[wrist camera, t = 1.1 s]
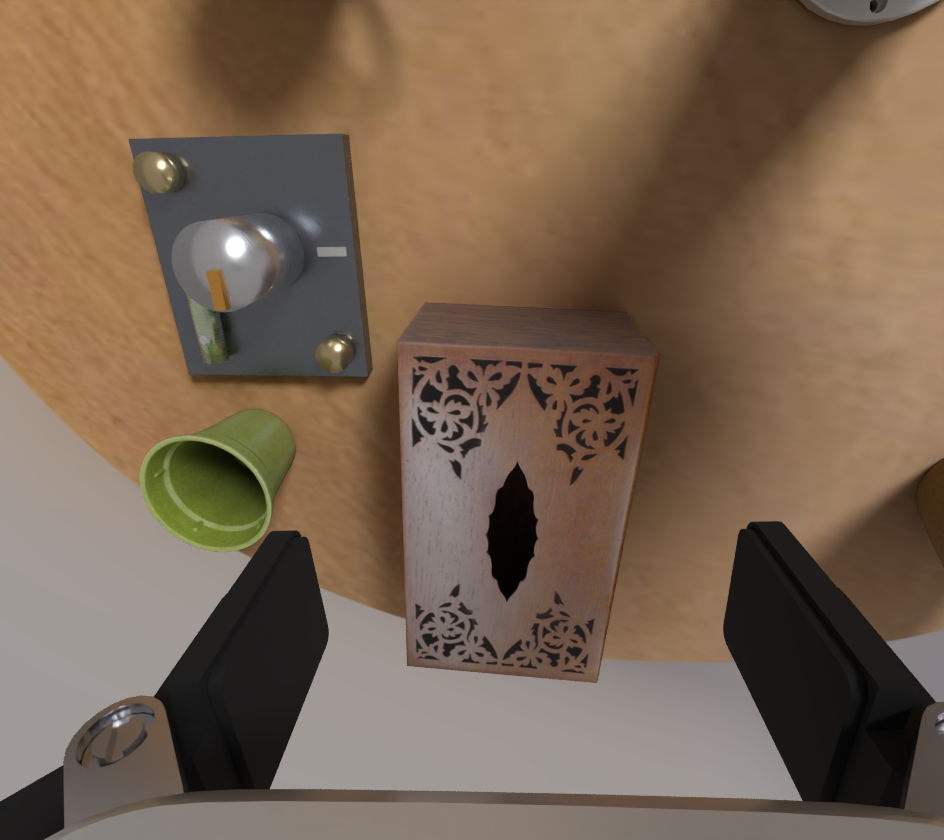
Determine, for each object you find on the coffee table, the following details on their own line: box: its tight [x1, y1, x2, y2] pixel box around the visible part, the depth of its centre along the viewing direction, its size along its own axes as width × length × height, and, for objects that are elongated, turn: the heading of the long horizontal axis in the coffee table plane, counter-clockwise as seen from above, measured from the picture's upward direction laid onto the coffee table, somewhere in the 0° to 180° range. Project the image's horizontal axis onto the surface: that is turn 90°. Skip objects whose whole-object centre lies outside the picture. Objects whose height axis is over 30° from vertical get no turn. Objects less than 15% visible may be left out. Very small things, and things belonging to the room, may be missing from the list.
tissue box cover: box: [397, 302, 660, 683], centre depth 39 cm, size 26×14×10 cm, turn 178°
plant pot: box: [139, 409, 296, 552], centre depth 40 cm, size 9×9×9 cm
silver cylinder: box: [172, 213, 304, 312], centre depth 33 cm, size 5×5×7 cm
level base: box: [129, 134, 373, 377], centre depth 36 cm, size 16×14×4 cm
